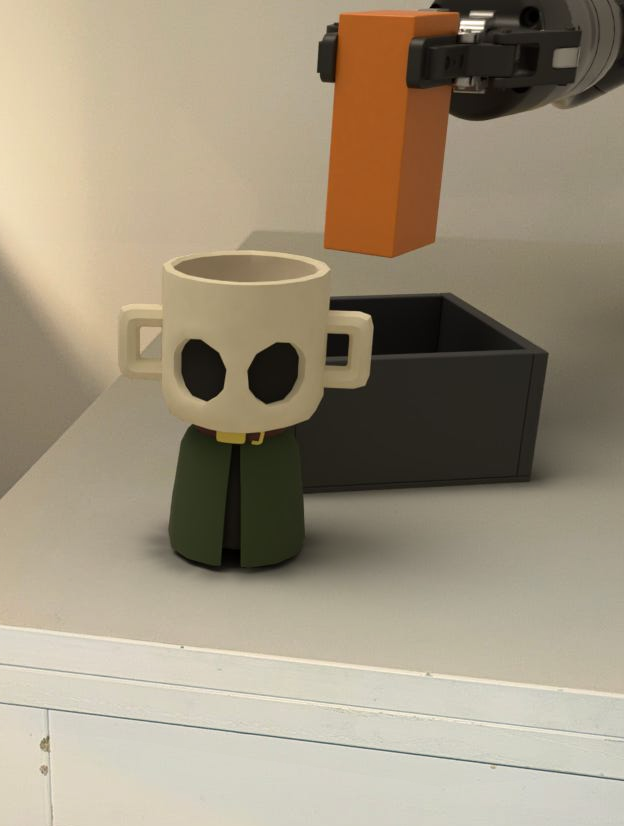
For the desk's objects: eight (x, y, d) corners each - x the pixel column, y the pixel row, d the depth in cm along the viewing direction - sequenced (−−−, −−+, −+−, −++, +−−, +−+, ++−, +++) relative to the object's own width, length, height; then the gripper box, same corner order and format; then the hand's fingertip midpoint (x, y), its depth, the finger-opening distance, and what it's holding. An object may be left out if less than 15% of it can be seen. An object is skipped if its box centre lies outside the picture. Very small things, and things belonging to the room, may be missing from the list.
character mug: (106, 576, 58) (103, 279, 52) (130, 516, 64) (129, 245, 58) (354, 591, 57) (380, 288, 51) (354, 529, 63) (376, 252, 57)
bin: (438, 409, 80) (451, 292, 77) (529, 486, 68) (549, 352, 65) (221, 418, 78) (224, 299, 75) (276, 500, 66) (283, 362, 63)
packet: (367, 234, 71) (386, 9, 66) (435, 242, 69) (460, 12, 64) (322, 248, 68) (338, 13, 62) (392, 258, 65) (415, 15, 60)
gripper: (403, -32, 76) (246, -30, 64) (648, -29, 69) (524, -25, 57) (390, 106, 80) (239, 133, 67) (623, 124, 72) (501, 158, 60)
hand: (371, 61), depth 62 cm, fingers closed on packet, 4 cm apart
